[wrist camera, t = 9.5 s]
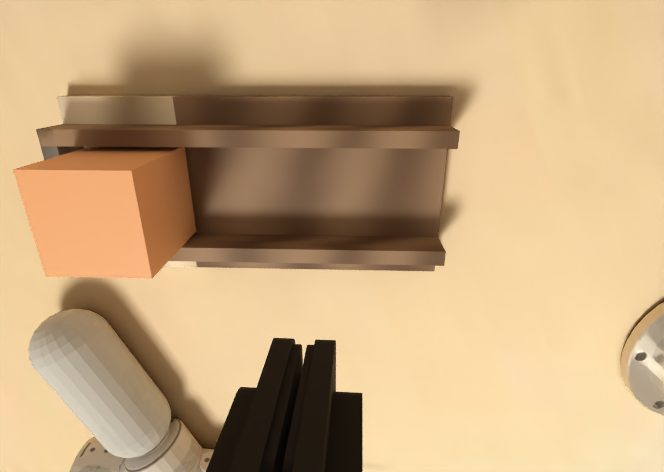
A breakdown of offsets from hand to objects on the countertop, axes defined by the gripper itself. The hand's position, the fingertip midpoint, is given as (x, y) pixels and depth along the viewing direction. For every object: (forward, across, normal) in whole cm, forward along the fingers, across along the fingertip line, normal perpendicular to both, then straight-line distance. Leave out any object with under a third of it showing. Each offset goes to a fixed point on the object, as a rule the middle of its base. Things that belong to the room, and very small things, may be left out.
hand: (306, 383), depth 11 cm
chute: (+19, +6, 0) cm, 20 cm away
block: (+17, +13, 0) cm, 22 cm away
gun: (+20, +10, +25) cm, 34 cm away
